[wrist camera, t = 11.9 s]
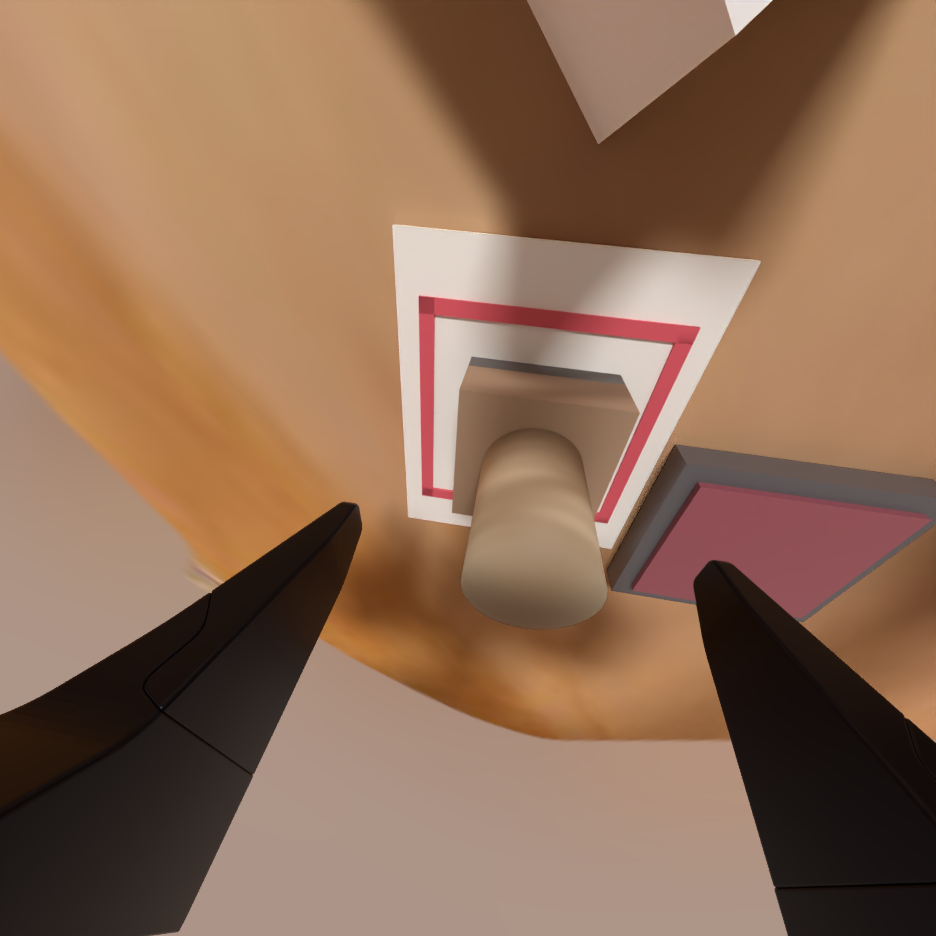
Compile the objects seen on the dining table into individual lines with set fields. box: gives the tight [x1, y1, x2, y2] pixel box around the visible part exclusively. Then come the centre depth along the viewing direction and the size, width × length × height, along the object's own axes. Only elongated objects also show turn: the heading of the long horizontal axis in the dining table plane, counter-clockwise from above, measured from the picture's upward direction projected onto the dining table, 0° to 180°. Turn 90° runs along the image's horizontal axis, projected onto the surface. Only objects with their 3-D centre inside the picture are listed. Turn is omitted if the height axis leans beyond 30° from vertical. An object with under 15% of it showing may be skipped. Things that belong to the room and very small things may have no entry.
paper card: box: [392, 224, 761, 549], centre depth 13 cm, size 10×12×1 cm
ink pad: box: [607, 445, 936, 622], centre depth 15 cm, size 9×8×2 cm
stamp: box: [452, 357, 640, 629], centre depth 10 cm, size 5×5×7 cm
